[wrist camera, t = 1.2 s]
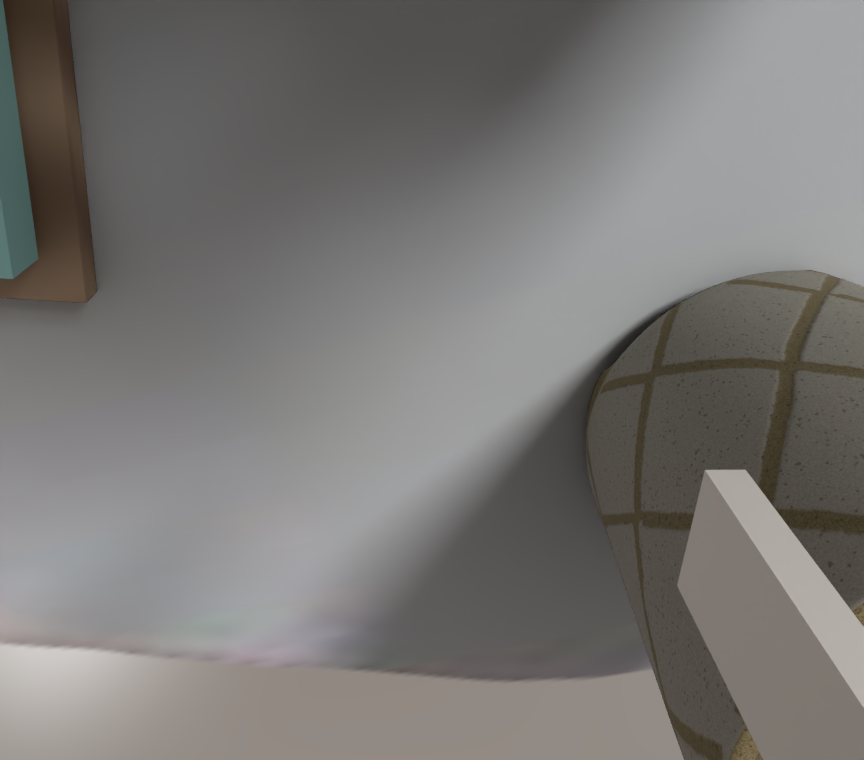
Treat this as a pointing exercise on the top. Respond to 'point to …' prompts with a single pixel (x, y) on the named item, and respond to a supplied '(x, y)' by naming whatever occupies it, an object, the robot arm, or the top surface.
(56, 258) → the pivot board
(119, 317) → the top surface
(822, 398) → the planter
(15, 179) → the latch bar
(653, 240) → the top surface
